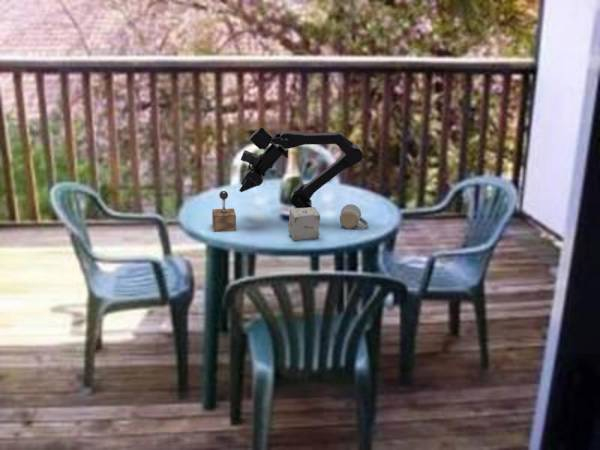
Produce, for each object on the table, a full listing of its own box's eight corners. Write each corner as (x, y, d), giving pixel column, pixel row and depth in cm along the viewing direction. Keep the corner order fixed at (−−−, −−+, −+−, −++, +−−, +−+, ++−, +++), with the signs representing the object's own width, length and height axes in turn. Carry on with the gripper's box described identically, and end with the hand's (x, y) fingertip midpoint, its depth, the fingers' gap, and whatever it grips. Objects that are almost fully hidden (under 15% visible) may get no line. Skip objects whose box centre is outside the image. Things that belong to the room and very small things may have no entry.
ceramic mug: (338, 229, 279) (339, 209, 277) (340, 222, 287) (341, 203, 284) (367, 231, 278) (368, 211, 275) (368, 224, 286) (369, 205, 283)
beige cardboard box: (293, 242, 265) (294, 214, 261) (287, 234, 272) (288, 207, 269) (320, 240, 267) (321, 212, 264) (313, 232, 275) (314, 205, 272)
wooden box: (233, 223, 283) (233, 208, 281) (236, 230, 275) (235, 215, 273) (212, 224, 281) (212, 209, 279) (214, 231, 274) (213, 215, 272)
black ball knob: (231, 212, 280) (231, 188, 277) (232, 217, 275) (232, 193, 272) (215, 212, 279) (214, 188, 276) (216, 217, 273) (216, 193, 271)
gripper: (254, 137, 282) (226, 167, 286) (251, 149, 265) (222, 180, 268) (276, 157, 285) (248, 186, 288) (274, 169, 267) (245, 200, 271)
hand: (241, 187), depth 279 cm, fingers open, 9 cm apart
